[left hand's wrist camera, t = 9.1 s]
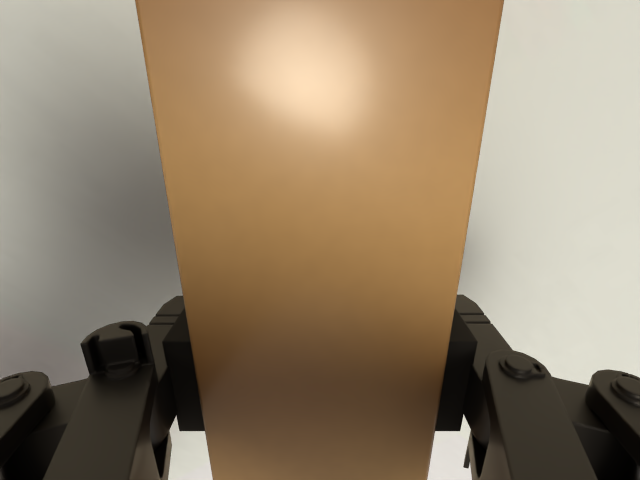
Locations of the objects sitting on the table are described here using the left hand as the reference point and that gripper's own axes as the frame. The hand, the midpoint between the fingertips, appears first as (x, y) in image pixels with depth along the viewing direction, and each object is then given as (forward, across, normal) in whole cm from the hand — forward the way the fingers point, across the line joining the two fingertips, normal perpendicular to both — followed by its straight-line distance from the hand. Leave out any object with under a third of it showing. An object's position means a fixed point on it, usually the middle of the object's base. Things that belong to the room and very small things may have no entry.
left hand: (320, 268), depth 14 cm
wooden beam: (+1, 0, -24) cm, 25 cm away
